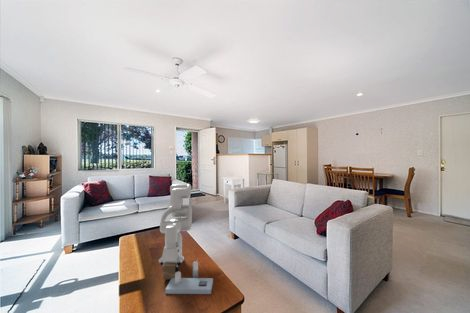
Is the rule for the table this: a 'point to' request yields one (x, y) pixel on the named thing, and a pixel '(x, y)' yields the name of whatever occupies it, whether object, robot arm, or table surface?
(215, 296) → the table surface
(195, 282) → the board
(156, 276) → the table surface
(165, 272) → the wooden box
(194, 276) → the peg
